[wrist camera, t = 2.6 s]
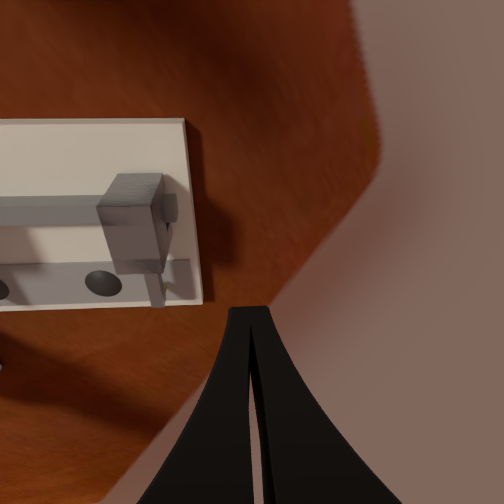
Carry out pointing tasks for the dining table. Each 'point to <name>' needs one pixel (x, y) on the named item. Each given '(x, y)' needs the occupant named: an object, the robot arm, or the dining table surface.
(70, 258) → the board
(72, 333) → the dining table surface
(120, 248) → the grey sliding bolt
